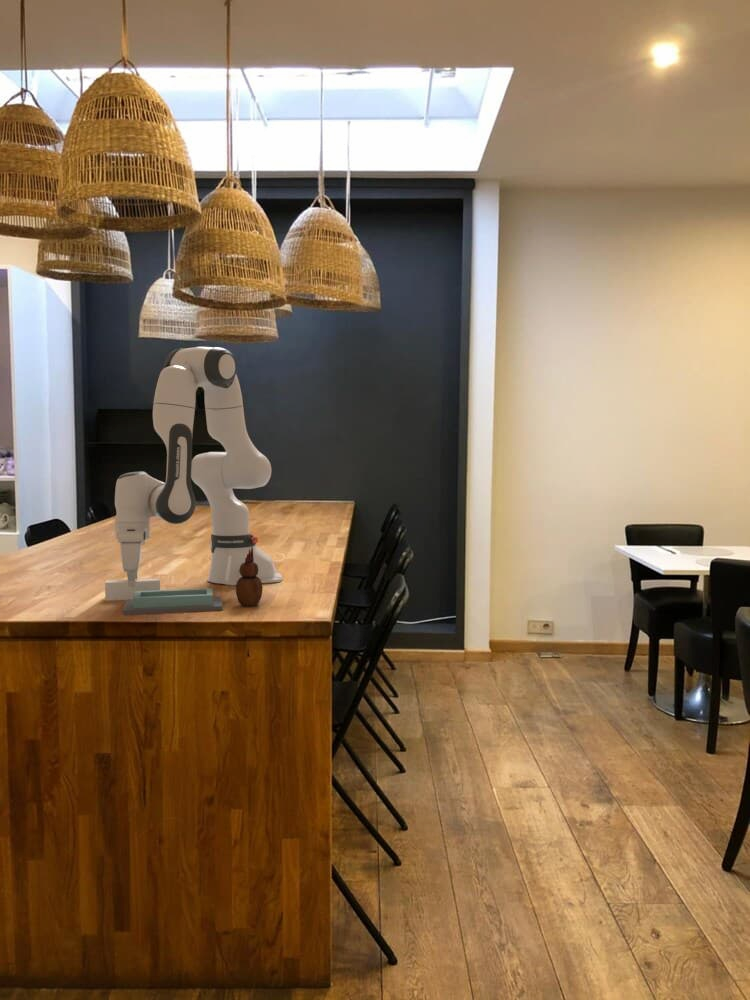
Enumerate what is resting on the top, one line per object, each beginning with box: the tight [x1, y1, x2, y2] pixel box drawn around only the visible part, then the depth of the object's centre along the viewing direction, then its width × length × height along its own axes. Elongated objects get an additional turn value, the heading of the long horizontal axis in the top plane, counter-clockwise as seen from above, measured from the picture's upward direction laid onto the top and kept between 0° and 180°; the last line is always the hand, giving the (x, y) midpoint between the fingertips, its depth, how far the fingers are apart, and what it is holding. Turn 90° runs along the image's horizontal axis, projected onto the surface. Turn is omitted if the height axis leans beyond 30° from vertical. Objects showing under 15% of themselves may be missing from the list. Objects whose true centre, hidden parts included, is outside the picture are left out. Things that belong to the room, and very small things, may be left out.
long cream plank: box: [104, 577, 161, 602], centre depth 205 cm, size 14×4×5 cm, turn 105°
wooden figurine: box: [235, 547, 263, 607], centre depth 197 cm, size 7×6×15 cm
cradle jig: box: [122, 587, 223, 615], centre depth 195 cm, size 24×13×4 cm, turn 103°
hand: (132, 583), depth 204 cm, fingers open, 8 cm apart
